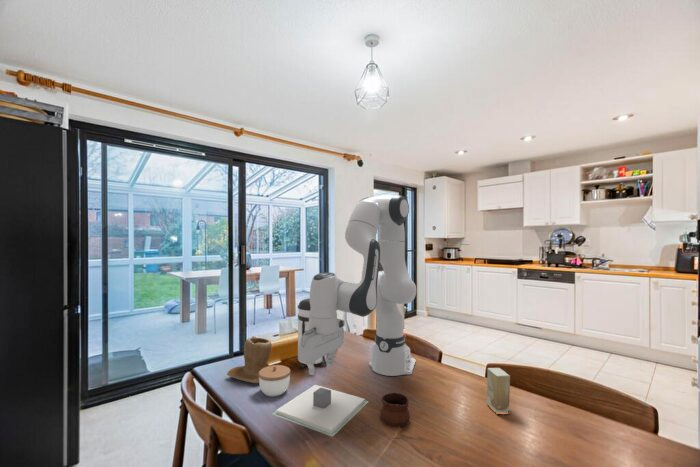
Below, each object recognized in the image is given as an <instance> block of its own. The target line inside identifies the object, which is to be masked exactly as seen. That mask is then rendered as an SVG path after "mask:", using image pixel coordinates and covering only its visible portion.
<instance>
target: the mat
mask: <svg viewBox="0 0 700 467" xmlns="http://www.w3.org/2000/svg"><path fill="white" fill-rule="evenodd" d="M369 402H370V401H368V400H366V399H365V402H364V403H363V404H362V405H361V406H360V407H359V408H358V409H357V410H356V411H355V412H354V413H353V414H352V415H351V416H350V417H349V418H348V419H346V420H345V421H344V422H343V423H342V424H341V425H340V426H339V427H338V428H337V429H336V430H335V431H334V432H333V433H332V434H331V433H328V432H325V431H323V430H320V429H317V428H315V427H312V426H309V425H306V424H304V423H301V422H298V421H295V420H293V419H290V418H287V417H285V416H282V415H279V414H276V410H275V411H274V412H272V413H271V415H272V416H275V417H278V418H280V419H283V420H286V421H289V422H292V423H294V424H297V425H299V426H302V427H306V428H308V429H310V430H313V431H315V432H318V433H319V434H323V435H327V436H329V437H332V438H333V437H334V436H335V435H336V434H338V432H340V430H341V429H343V427H344V426H346V425H347V424H348V422H350V420H352V419H353V418H354V417H355V416H356V415H357V414H358V413H359V412H360V411H361V410H362V409H364V407H365V406H367V404H368V403H369Z"/></svg>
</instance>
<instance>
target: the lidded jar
mask: <svg viewBox="0 0 700 467" xmlns="http://www.w3.org/2000/svg"><path fill="white" fill-rule="evenodd" d="M290 380H291V369H290V367H288V366H286V365H280V364H275V365H274V364H273V365H268V366H265V368H263V369H261V370H260V371H259V383H258V384H259V388H260V392H262V393H263V394H264V395H265V396H267V397H270V398H271V397H278V396H282V395H283V394H284V393H285V392H286V390H287V389H288V388H289V385H290Z"/></svg>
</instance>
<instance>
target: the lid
mask: <svg viewBox="0 0 700 467" xmlns="http://www.w3.org/2000/svg"><path fill="white" fill-rule="evenodd" d="M365 400H366V398H365V397H364V398H363V397H360V396H357V395H353V394H349V393H345V392H343V391H340V390H339V391H338V390H335V389H331V388H328V387H325V386H321V385H317V384H314V385H313V386H311V387H309V388H308V389H306V390H304V391H303V392H302V393H300V394H298V395H297V396H295V397H293V399H291V400H290V401H288V402H286V403H285V404H283V405H281V406H280V407H278V408H277V409H276V410H275V411H276V414H279V415H282V416H285V417H287V418H290V419H293V420H295V421H298V422H301V423H304V424H306V425H309V426H312V427H315V428H317V429H320V430H323V431H325V432H328V433H331V434H332V433H333V432H334V431H335V430H336V429H337V428H338V427H339V426H340V425H341V424H342V423H343V422H344V421H345V420H346V419H348V418H349V417H350V416H351V415H352V414H353V413H354V412H355V411H356V410H357V409H358V408H359V407H360V406H361V405H362V404H363V403H364V402H365Z"/></svg>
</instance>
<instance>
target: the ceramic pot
mask: <svg viewBox="0 0 700 467" xmlns="http://www.w3.org/2000/svg"><path fill="white" fill-rule="evenodd" d="M409 401H410V399H409V398H408V396H407V395H405V394H403V393H401V392H391V393H387V394H384V395H383V396H382V398H381V403H382V406H381V409H380V411H379V414H380V419H381V421H382V422H383V423H384V424H385V425H386V426H389V427H394V428H399V429H401V428H404V427H406V426H407V425H408V424H409V423H410V419H411V412H410V410H409V404H410V402H409ZM392 439H394V440H404V437H392ZM408 439H409V437H407V438H405V440H408Z"/></svg>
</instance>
